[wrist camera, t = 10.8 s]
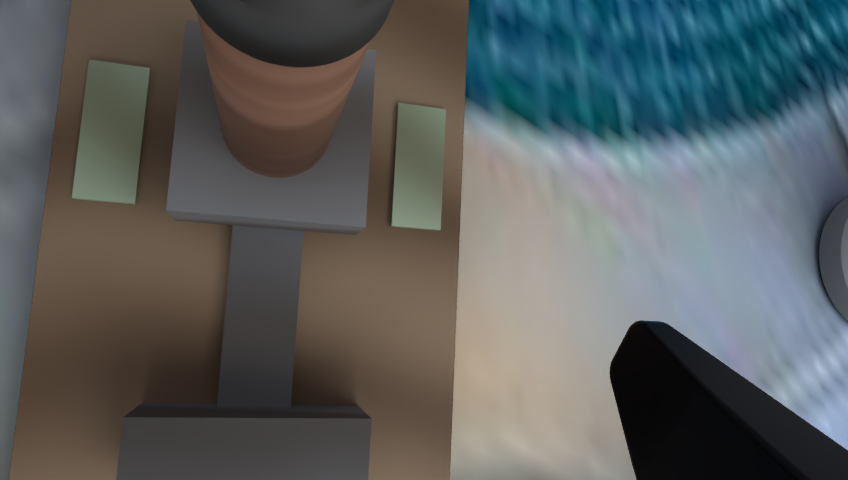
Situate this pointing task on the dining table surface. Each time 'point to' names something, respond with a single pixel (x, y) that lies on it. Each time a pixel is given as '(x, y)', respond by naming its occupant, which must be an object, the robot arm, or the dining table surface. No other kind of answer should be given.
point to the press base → (241, 281)
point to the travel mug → (836, 257)
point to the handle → (276, 114)
